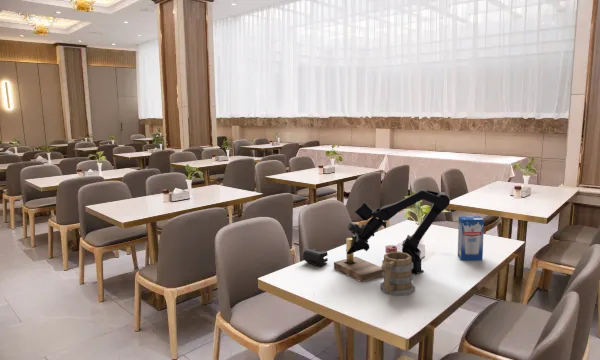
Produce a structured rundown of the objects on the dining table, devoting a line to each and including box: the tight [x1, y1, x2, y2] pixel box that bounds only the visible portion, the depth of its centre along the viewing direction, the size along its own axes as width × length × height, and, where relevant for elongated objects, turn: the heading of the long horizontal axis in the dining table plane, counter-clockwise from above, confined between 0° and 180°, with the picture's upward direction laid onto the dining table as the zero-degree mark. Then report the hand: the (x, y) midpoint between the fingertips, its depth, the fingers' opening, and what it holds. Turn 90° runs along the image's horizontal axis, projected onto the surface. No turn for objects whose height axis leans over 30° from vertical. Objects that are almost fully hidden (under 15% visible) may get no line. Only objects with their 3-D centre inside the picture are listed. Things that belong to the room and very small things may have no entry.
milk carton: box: [457, 215, 485, 262], centre depth 205 cm, size 10×6×20 cm, turn 84°
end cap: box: [302, 248, 329, 267], centre depth 205 cm, size 10×7×7 cm
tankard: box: [380, 251, 416, 296], centre depth 170 cm, size 20×13×15 cm, turn 141°
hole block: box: [333, 256, 384, 283], centre depth 193 cm, size 20×13×3 cm, turn 32°
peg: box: [345, 237, 355, 265], centre depth 196 cm, size 3×3×13 cm
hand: (347, 252), depth 196 cm, fingers closed on peg, 3 cm apart
